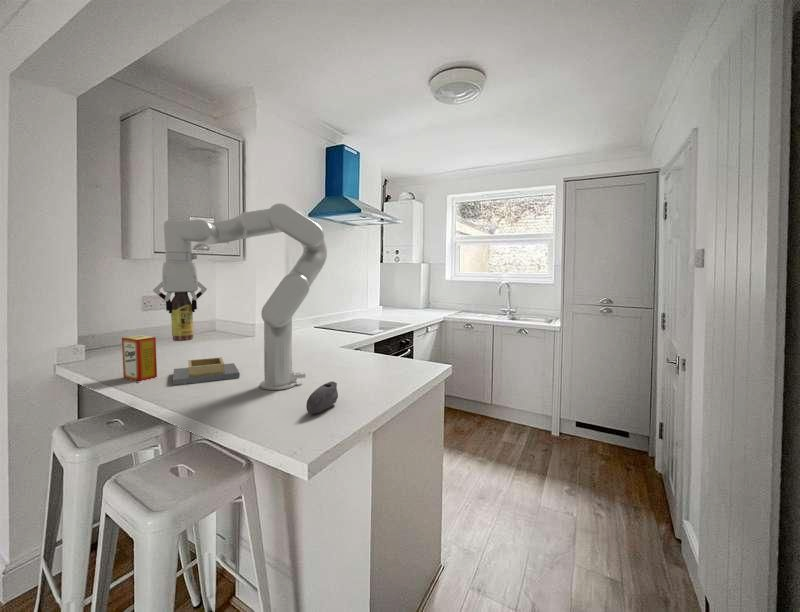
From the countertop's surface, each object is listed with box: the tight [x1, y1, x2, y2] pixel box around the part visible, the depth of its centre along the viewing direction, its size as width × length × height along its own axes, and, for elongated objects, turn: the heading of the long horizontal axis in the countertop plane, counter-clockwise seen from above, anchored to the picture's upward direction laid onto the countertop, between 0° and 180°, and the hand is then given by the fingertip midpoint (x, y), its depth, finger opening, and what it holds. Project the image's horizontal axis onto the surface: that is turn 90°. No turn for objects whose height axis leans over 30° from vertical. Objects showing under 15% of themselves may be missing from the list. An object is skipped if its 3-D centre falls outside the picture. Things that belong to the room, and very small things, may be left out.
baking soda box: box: [121, 334, 158, 382], centre depth 142 cm, size 10×6×16 cm
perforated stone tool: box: [306, 380, 339, 415], centre depth 112 cm, size 15×5×7 cm, turn 158°
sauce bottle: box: [170, 292, 194, 342], centre depth 125 cm, size 7×6×20 cm
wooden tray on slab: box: [172, 356, 240, 386], centre depth 147 cm, size 22×18×6 cm
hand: (182, 311), depth 126 cm, fingers closed on sauce bottle, 6 cm apart
